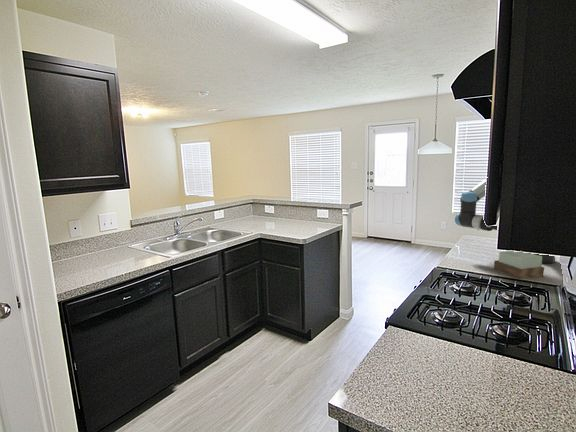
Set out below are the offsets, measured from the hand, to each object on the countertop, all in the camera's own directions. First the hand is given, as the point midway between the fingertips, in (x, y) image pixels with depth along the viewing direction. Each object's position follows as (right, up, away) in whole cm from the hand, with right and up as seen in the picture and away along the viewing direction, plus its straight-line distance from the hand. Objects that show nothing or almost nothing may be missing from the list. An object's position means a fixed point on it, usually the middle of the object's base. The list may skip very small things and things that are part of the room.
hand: (530, 230), depth 151 cm
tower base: (-1, -22, +7) cm, 23 cm away
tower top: (-1, -17, +6) cm, 18 cm away
